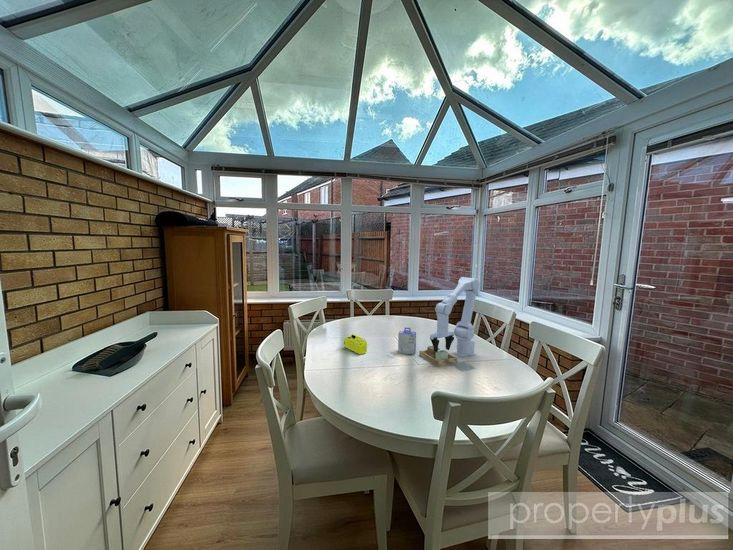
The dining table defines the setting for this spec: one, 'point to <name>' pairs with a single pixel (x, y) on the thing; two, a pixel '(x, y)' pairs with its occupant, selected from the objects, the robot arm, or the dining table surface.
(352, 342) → the yellow toy chassis
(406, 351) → the ink cartridge box
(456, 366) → the rubber pad
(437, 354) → the sage block
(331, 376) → the dining table surface
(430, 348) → the walnut block
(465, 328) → the robot arm
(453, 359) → the oak tray
